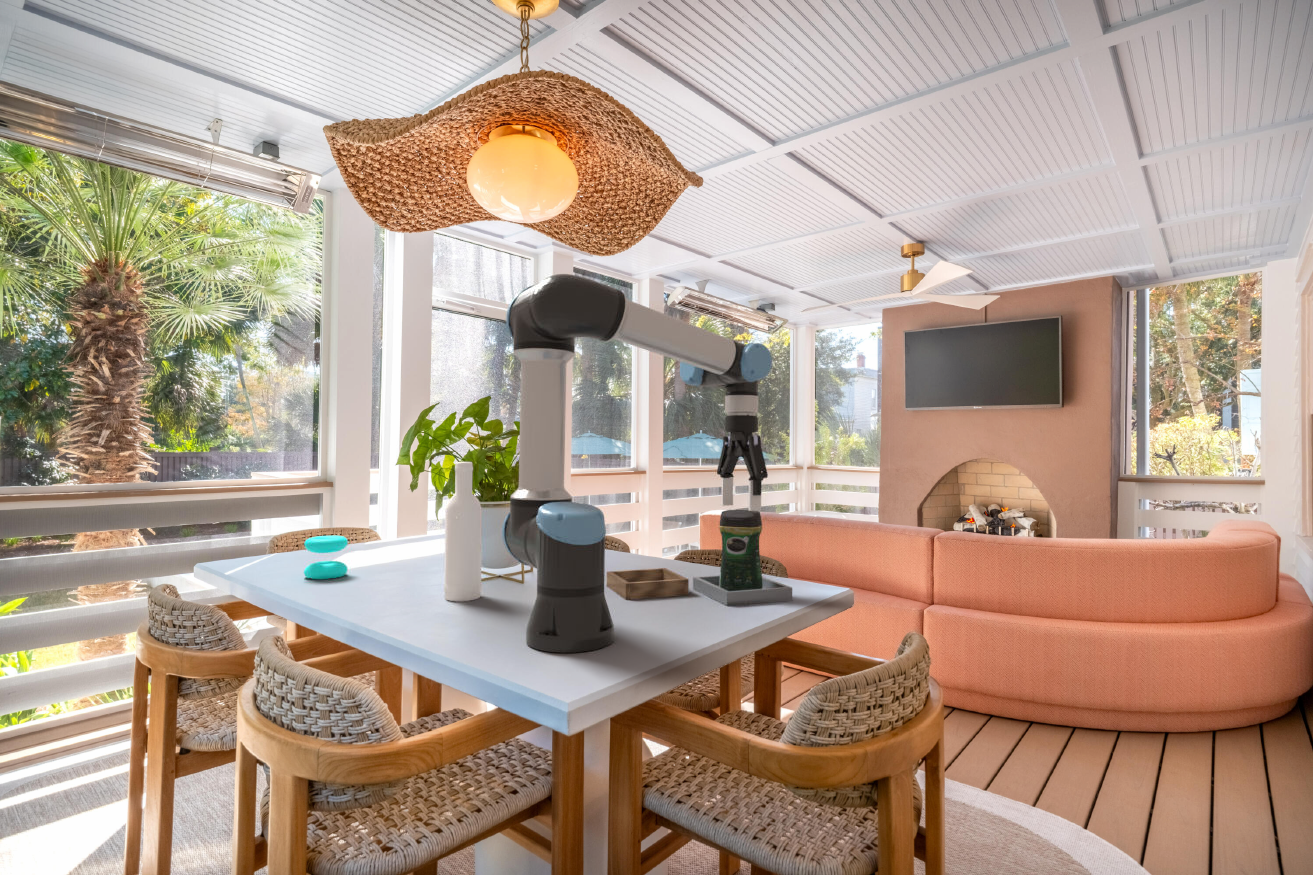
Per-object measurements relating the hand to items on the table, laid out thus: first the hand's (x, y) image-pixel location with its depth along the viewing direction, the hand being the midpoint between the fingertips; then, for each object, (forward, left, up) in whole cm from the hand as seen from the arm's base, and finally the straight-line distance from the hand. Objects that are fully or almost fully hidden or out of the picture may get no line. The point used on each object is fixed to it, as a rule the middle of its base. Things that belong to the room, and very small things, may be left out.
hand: (740, 507), depth 154 cm
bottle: (-60, +17, -20) cm, 65 cm away
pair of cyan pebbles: (-91, +53, -20) cm, 107 cm away
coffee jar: (0, 0, -19) cm, 19 cm away
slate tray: (0, 0, -20) cm, 20 cm away
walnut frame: (-19, +11, -20) cm, 29 cm away
